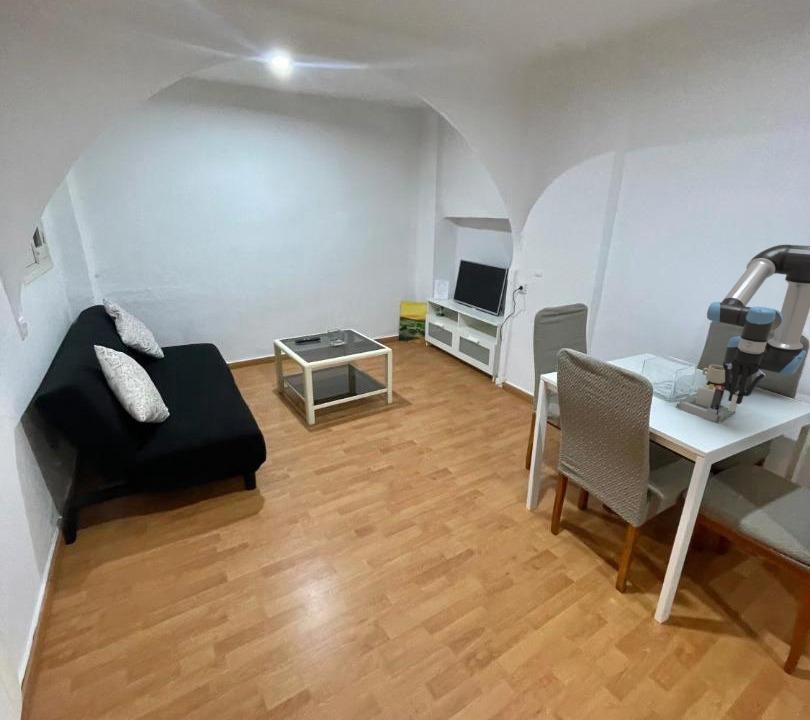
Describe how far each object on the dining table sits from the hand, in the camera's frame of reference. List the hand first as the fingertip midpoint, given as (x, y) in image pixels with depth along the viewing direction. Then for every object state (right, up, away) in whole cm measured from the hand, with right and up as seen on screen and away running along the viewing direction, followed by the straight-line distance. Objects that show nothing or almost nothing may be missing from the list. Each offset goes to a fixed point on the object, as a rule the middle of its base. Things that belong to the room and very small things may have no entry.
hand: (732, 410), depth 161 cm
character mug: (+13, +3, +29) cm, 32 cm away
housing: (+1, +1, +16) cm, 15 cm away
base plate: (-1, -2, +14) cm, 14 cm away
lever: (-3, -1, +5) cm, 6 cm away
